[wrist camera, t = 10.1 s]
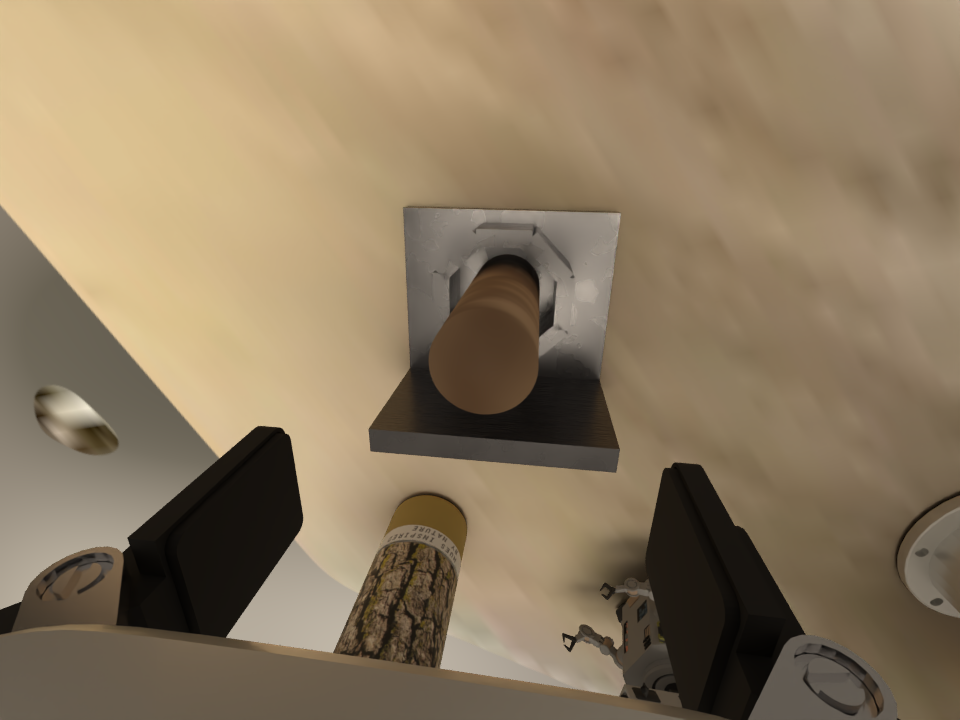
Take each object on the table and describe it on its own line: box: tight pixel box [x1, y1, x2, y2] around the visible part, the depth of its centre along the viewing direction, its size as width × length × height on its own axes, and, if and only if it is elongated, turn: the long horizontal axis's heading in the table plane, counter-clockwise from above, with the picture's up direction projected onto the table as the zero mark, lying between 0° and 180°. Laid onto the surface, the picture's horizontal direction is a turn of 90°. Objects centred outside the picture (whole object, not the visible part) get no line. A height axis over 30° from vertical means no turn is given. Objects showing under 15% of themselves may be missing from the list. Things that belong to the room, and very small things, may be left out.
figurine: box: [562, 578, 682, 708], centre depth 33 cm, size 9×12×15 cm
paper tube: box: [333, 495, 467, 669], centre depth 29 cm, size 7×7×25 cm
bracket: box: [369, 207, 621, 473], centre depth 28 cm, size 13×14×10 cm
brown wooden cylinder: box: [429, 254, 540, 414], centre depth 24 cm, size 4×4×14 cm
